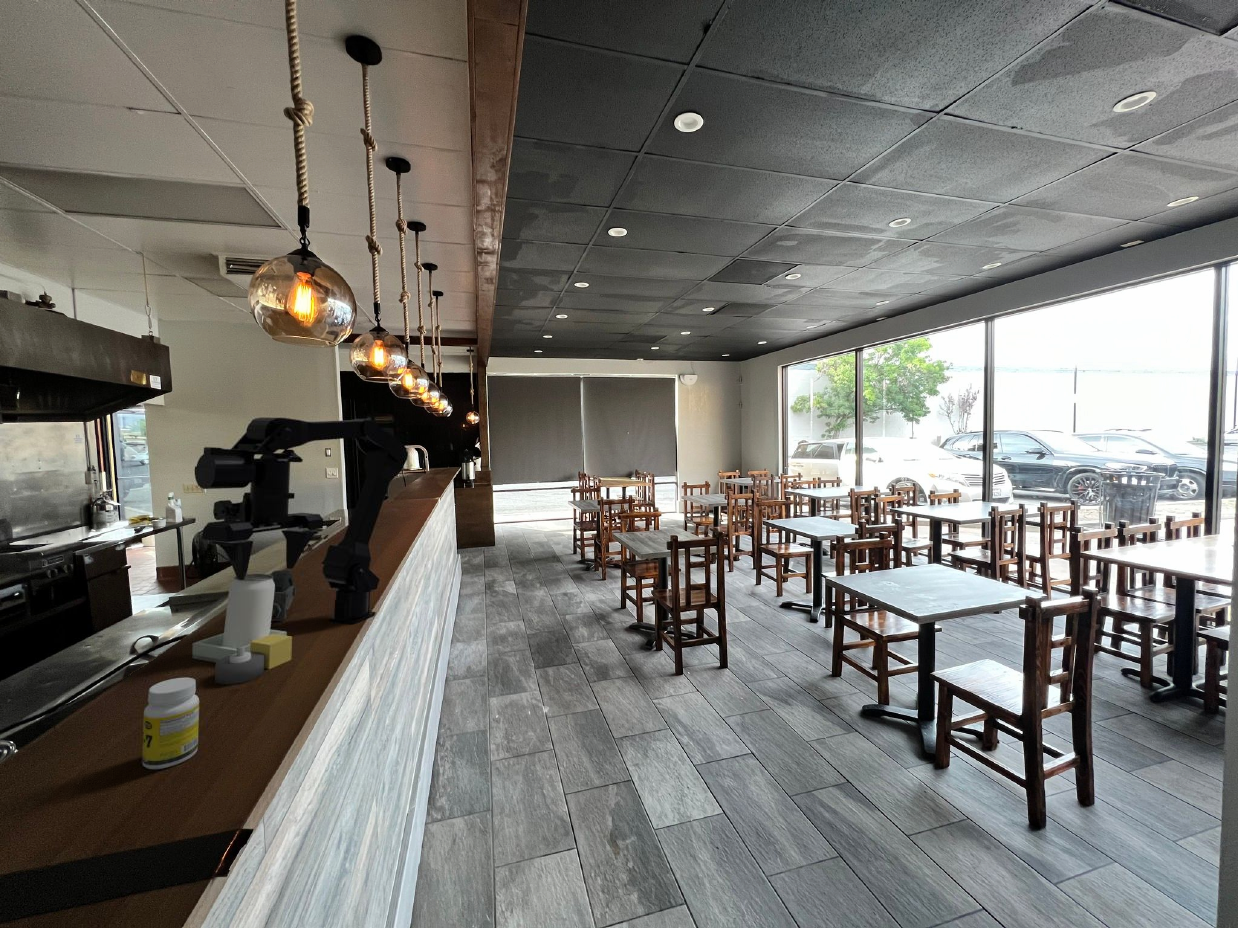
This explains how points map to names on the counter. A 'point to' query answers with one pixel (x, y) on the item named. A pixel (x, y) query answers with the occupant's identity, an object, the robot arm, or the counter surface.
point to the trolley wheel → (239, 667)
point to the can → (248, 610)
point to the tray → (218, 648)
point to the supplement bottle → (170, 723)
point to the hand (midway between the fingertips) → (266, 573)
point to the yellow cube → (273, 649)
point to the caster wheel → (282, 594)
